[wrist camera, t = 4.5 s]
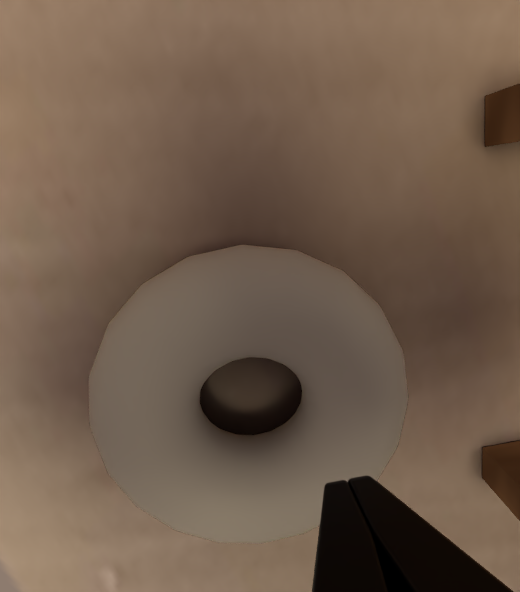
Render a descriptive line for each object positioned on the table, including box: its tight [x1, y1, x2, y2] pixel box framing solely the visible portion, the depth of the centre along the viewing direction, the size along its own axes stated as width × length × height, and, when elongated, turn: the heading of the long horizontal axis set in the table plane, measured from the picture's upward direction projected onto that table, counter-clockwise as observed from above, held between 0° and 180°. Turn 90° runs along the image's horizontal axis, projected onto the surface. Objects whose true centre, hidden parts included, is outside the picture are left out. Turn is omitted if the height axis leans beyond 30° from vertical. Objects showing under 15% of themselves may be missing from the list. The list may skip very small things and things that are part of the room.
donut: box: [89, 245, 408, 544], centre depth 12 cm, size 10×3×10 cm
